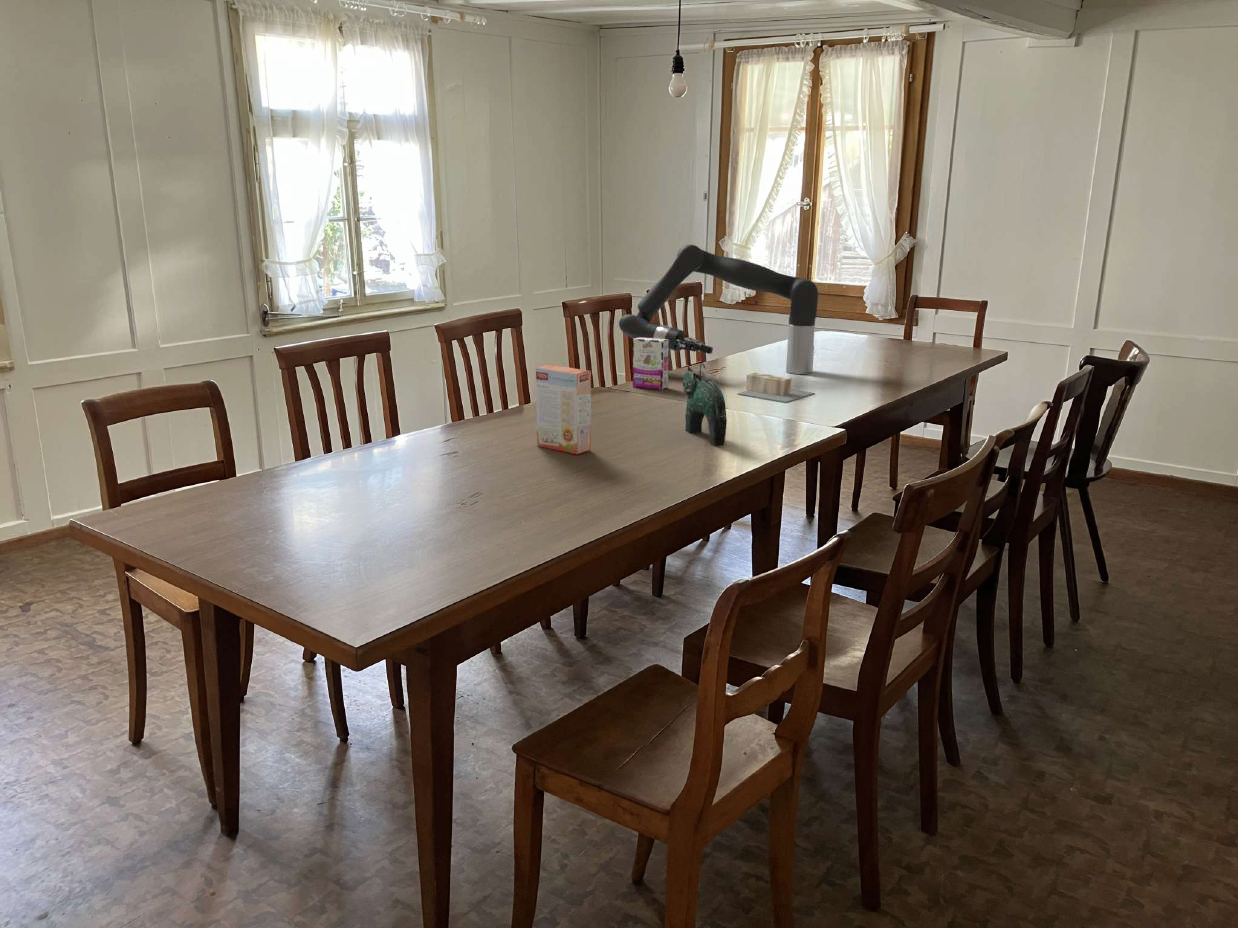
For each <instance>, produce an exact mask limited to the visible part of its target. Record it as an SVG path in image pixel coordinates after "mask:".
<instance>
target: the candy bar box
mask: <svg viewBox="0 0 1238 928" xmlns="http://www.w3.org/2000/svg"><path fill="white" fill-rule="evenodd" d="M669 350H670V349H669V339H658V338H644V337H638V338H635V339H633V338H632V387H633V388H637V389H638V388H639V389H648V390H656V391H663V390H666V389H669V353H670V352H669Z"/></svg>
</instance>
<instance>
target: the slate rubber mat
mask: <svg viewBox="0 0 1238 928" xmlns="http://www.w3.org/2000/svg"><path fill="white" fill-rule="evenodd" d="M812 395H816V392H814V391H813V392H812V391H807V390H800V389H793V388H791V394H788V395H785V396H779V395H774V394H768V393H762V392H756V391H750V390H745V391H741V392H738V393H737V396H745V397H749V398H756V399H761V400H767V401H771V402H777V403H778V402H779V403H783V404H787V403H790V402H793V401H796V400H799V399H803V398H805V397H809V396H812Z"/></svg>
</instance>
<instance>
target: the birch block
mask: <svg viewBox="0 0 1238 928" xmlns="http://www.w3.org/2000/svg"><path fill="white" fill-rule="evenodd" d="M792 381H793V380H792V378H790V377H785V376H780V375H772V374H765V373H760V372H759V373H758V372H754V373H747V374H746V384H745V391H748V390H750V391H756V392H762V393H768V394H774V395H779V396H785V395H788V394H791V389H792V384H793V382H792Z"/></svg>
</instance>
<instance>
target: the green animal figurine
mask: <svg viewBox="0 0 1238 928" xmlns="http://www.w3.org/2000/svg"><path fill="white" fill-rule="evenodd" d="M705 365H706V364H705V363H703V362H701V363H700V365H699V370H693V368H692V367H690V366H687V367H688V368H687V371H686V372H685V373H684V374H683V377H682V391H683V392H684V393H685V395H687V401H686V405H685V406H686V408H685V427H684V428H685V432H687V433H689V434H698V433H702V431H703V429H702V428H703V420H704V417H705V418H706V420H707V423H708V424H707V425H708V432H709V441H710V445H711V446H713V445H714V446H713V447H719V446H720V445H722V446H725V444H726V443H725V442H726V441H725V439H726V434H727V424H728V423H727V422H728V421H727V409H726V408H727V407H726V401H725V397H724V393H723V392H722V391H723V390H721V387H720V386H719V384H717V383H716V382H715V381H714V380H713V379H710V378H707V377H706V374H705V373H704V372H703V371H702V367H703V368H704V370H706V369H707V368H706V366H705Z"/></svg>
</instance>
